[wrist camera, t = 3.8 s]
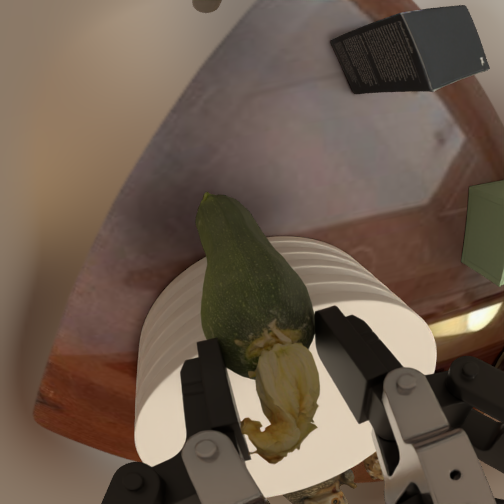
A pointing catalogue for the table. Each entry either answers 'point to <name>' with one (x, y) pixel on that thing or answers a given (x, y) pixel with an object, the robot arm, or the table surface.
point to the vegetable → (259, 323)
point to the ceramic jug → (500, 363)
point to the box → (412, 51)
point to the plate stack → (244, 389)
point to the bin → (485, 231)
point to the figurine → (324, 491)
